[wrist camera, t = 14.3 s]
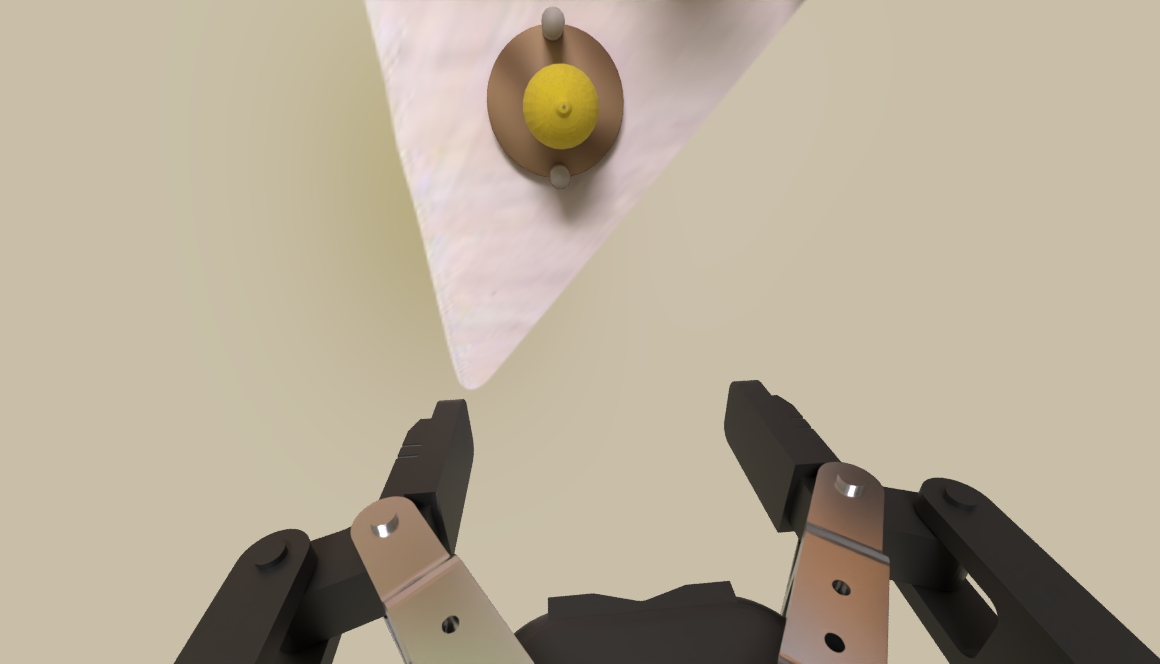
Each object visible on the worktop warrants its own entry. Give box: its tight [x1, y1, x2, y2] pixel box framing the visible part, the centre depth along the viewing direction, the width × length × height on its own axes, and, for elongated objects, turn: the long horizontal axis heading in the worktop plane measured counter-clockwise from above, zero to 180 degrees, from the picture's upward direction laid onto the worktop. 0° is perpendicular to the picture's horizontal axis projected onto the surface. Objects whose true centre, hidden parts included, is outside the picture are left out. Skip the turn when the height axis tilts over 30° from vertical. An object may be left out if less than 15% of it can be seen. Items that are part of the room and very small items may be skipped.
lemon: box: [523, 63, 599, 149], centre depth 32 cm, size 6×6×8 cm
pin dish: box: [487, 7, 624, 189], centre depth 34 cm, size 11×11×4 cm
